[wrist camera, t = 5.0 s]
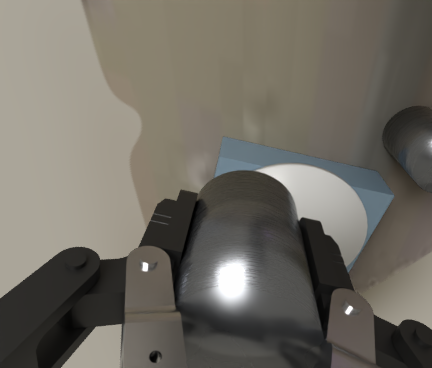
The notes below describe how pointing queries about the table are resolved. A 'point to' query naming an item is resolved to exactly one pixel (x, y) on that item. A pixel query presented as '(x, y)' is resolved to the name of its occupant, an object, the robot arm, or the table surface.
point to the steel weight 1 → (246, 278)
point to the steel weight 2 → (412, 143)
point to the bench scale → (318, 190)
